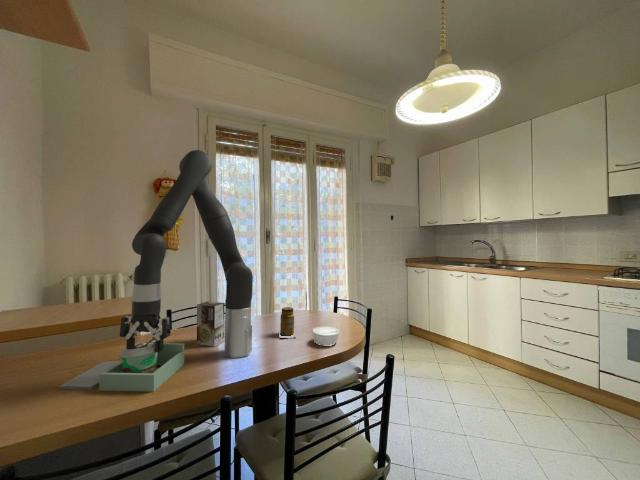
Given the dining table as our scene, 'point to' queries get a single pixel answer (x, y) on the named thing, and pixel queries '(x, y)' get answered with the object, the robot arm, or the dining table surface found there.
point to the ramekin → (325, 335)
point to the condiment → (287, 322)
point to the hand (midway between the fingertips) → (144, 351)
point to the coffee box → (210, 323)
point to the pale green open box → (122, 381)
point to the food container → (140, 358)
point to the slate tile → (88, 377)
